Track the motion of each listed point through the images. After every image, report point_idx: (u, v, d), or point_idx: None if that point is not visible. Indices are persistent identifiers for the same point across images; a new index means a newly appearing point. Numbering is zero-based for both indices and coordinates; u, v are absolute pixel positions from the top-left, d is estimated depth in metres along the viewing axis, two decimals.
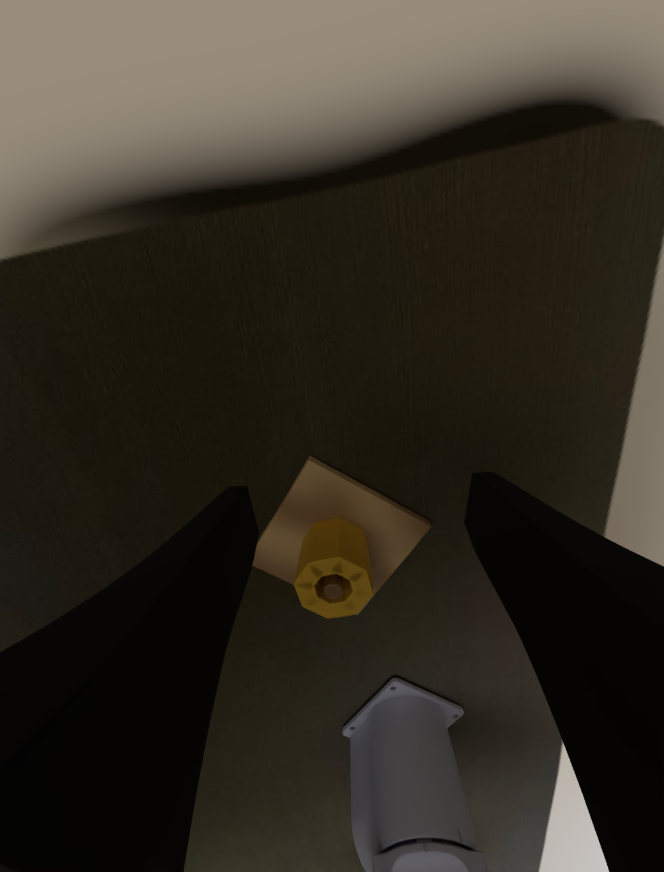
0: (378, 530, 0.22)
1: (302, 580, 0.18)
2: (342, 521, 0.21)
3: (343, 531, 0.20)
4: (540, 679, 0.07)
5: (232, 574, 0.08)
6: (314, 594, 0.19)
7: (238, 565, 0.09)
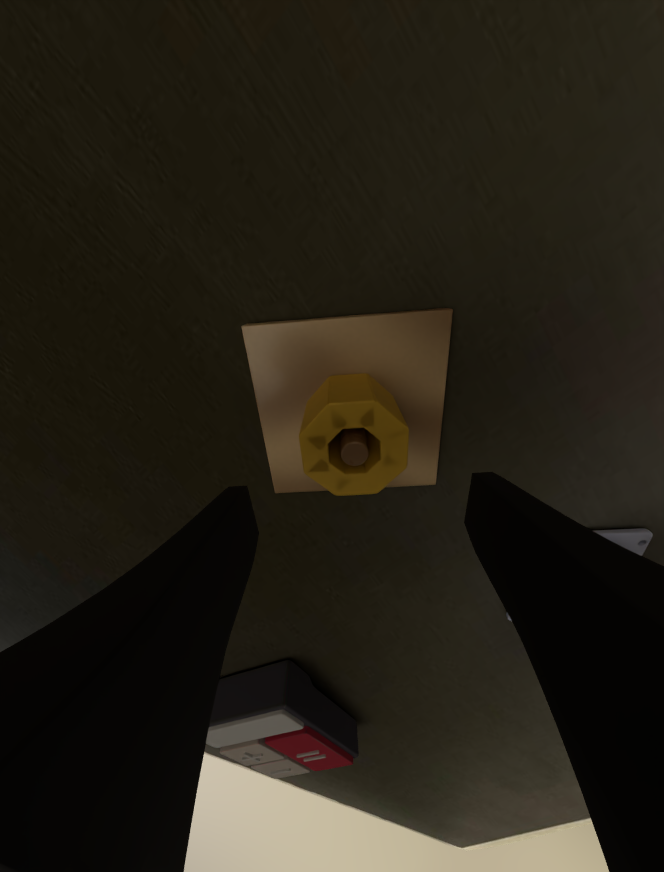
0: (387, 362, 0.15)
1: (310, 463, 0.13)
2: (333, 377, 0.15)
3: (334, 383, 0.14)
4: (540, 680, 0.07)
5: (232, 574, 0.08)
6: (337, 472, 0.13)
7: (238, 565, 0.09)
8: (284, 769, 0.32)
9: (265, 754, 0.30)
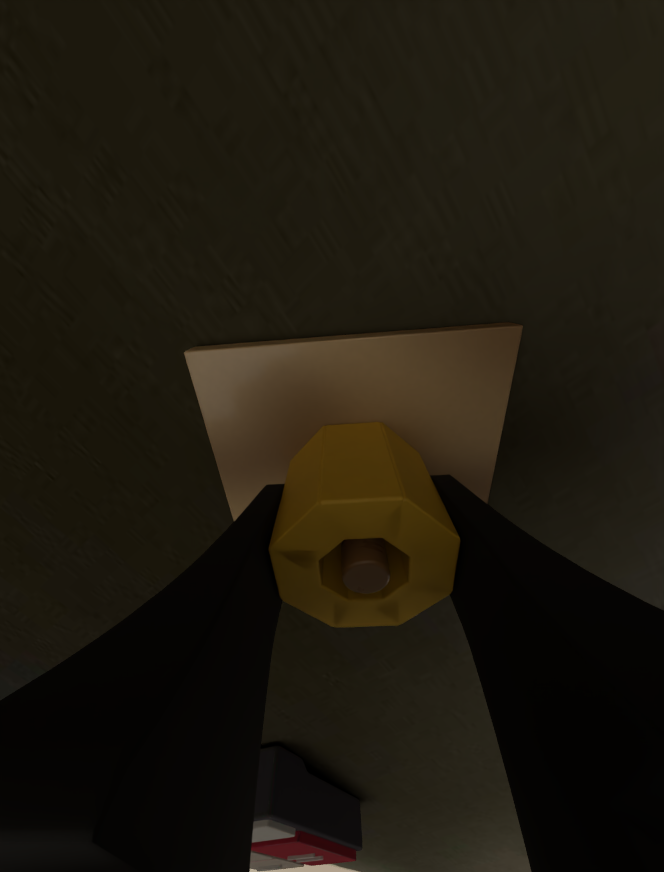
0: (414, 405, 0.10)
1: (289, 586, 0.08)
2: (330, 429, 0.10)
3: (331, 444, 0.09)
4: (481, 681, 0.07)
5: None
6: (335, 599, 0.08)
7: None
8: (274, 865, 0.27)
9: None
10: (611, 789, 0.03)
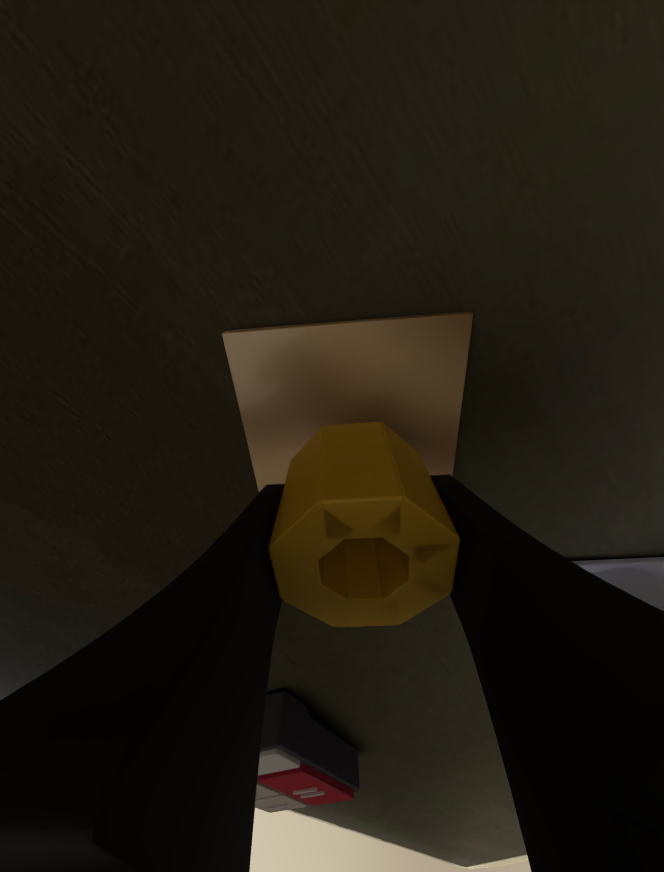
0: (394, 374, 0.13)
1: (289, 585, 0.08)
2: (330, 429, 0.10)
3: (331, 444, 0.09)
4: (481, 681, 0.07)
5: None
6: (334, 599, 0.08)
7: None
8: (280, 804, 0.30)
9: (259, 791, 0.28)
10: (611, 789, 0.03)
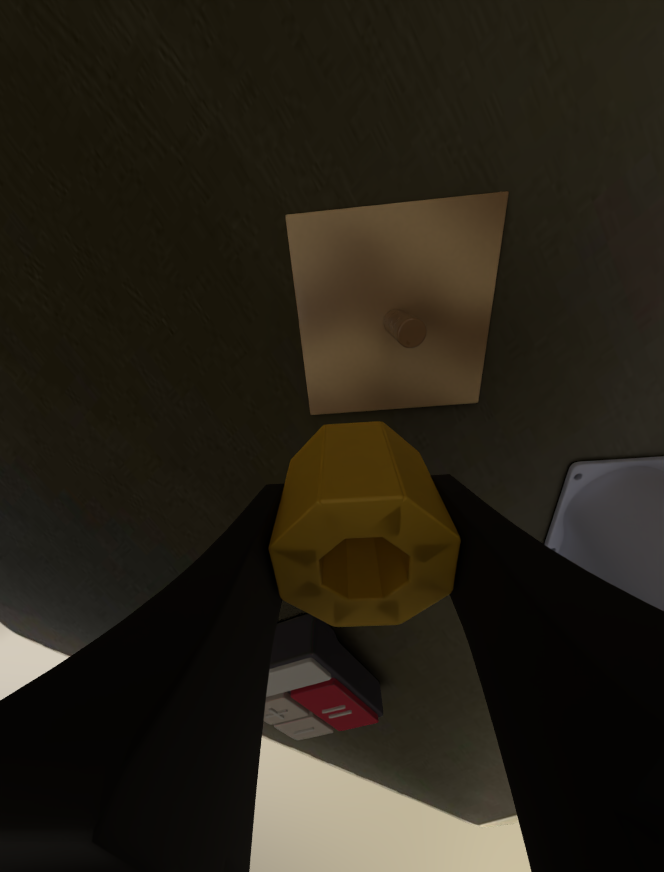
0: (436, 256, 0.14)
1: (290, 585, 0.08)
2: (330, 428, 0.10)
3: (331, 443, 0.09)
4: (481, 681, 0.07)
5: None
6: (335, 598, 0.08)
7: None
8: (308, 728, 0.32)
9: (290, 710, 0.29)
10: (611, 789, 0.03)
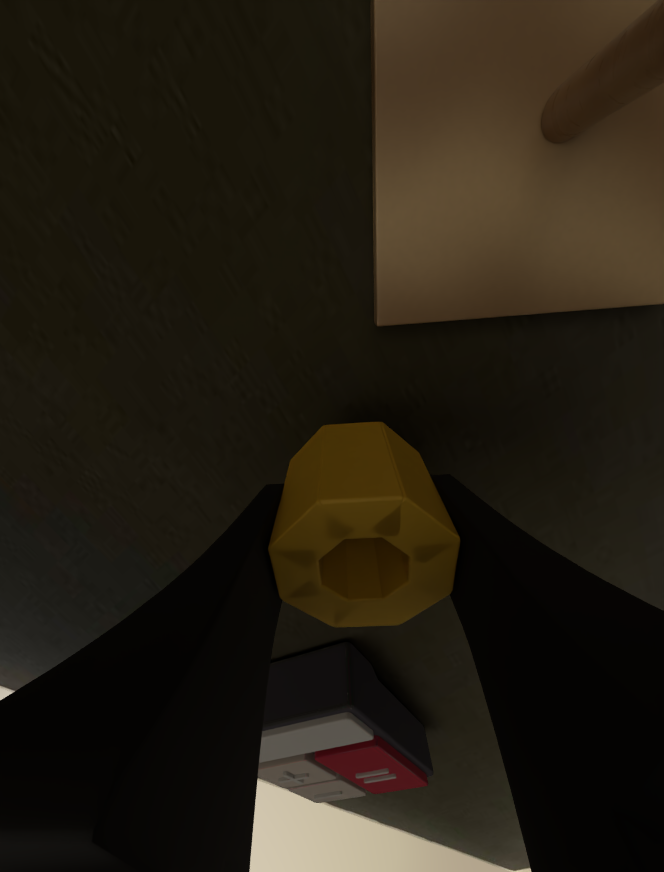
0: None
1: (289, 585, 0.08)
2: (330, 429, 0.10)
3: (331, 444, 0.09)
4: (481, 681, 0.07)
5: None
6: (335, 598, 0.08)
7: None
8: (334, 791, 0.24)
9: (312, 774, 0.21)
10: (612, 789, 0.03)
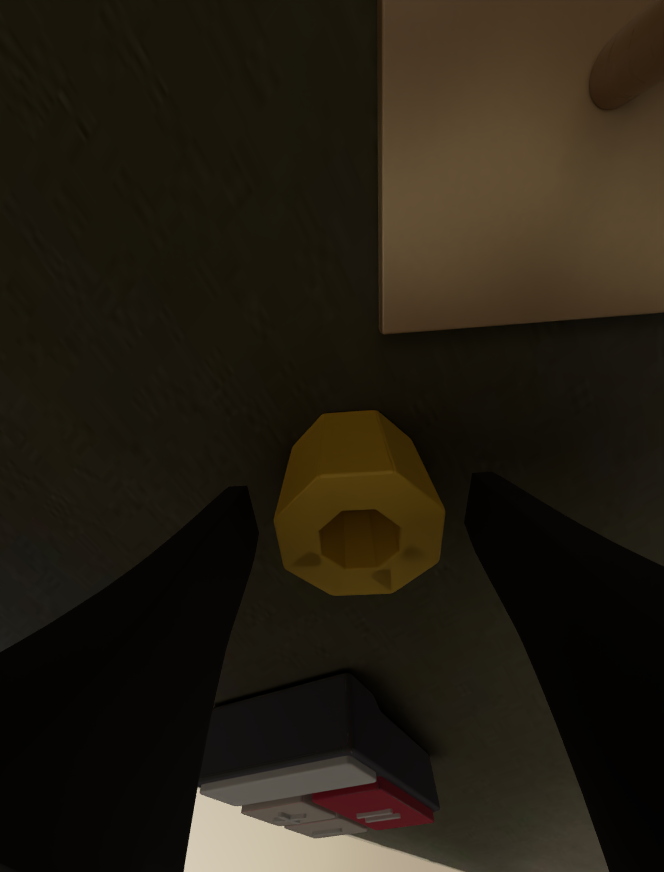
0: None
1: (292, 555, 0.09)
2: (329, 416, 0.11)
3: (330, 429, 0.10)
4: (540, 679, 0.07)
5: (232, 574, 0.08)
6: (334, 568, 0.09)
7: (238, 565, 0.09)
8: (333, 828, 0.22)
9: (309, 814, 0.20)
10: None
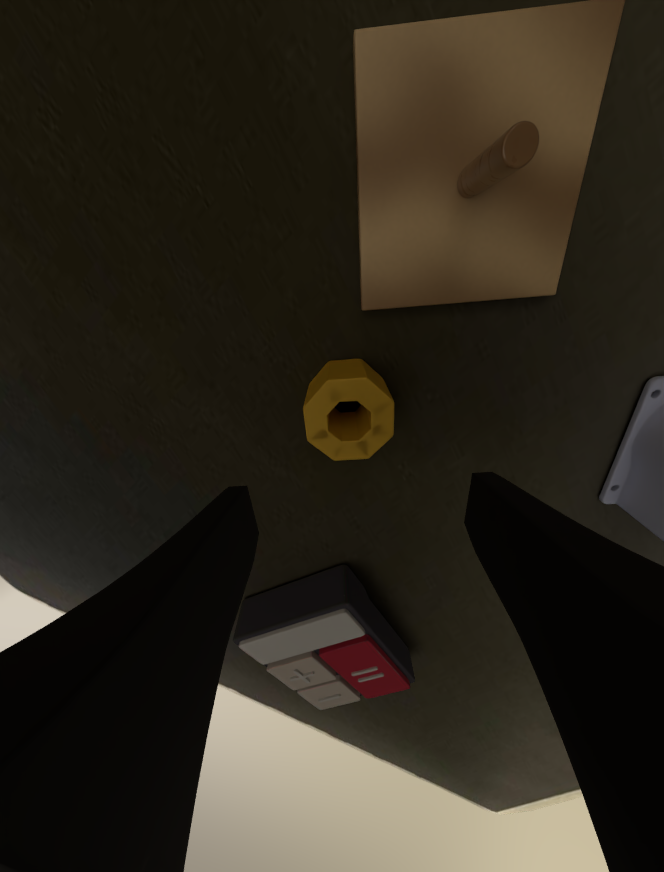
0: (529, 90, 0.12)
1: (312, 431, 0.16)
2: (332, 361, 0.18)
3: (333, 366, 0.17)
4: (539, 679, 0.07)
5: (232, 574, 0.08)
6: (335, 440, 0.16)
7: (238, 565, 0.09)
8: (334, 695, 0.29)
9: (317, 672, 0.27)
10: None
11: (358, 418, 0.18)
